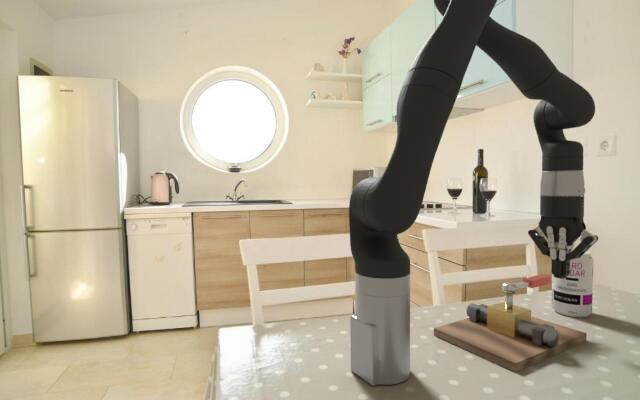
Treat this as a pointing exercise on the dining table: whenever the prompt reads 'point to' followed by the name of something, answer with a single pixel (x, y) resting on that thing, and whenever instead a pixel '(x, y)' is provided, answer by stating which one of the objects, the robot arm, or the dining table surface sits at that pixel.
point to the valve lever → (526, 283)
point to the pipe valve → (513, 322)
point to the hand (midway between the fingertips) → (560, 277)
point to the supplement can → (574, 288)
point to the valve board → (506, 343)
